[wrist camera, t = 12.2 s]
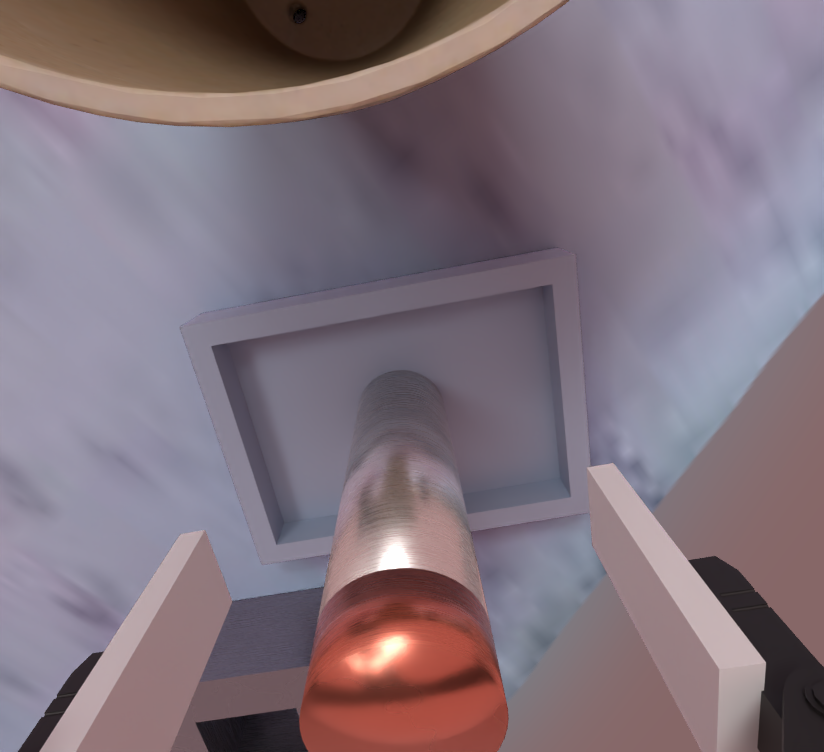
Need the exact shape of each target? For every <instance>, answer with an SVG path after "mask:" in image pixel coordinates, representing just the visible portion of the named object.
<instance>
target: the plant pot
mask: <svg viewBox="0 0 824 752" xmlns="http://www.w3.org/2000/svg"><path fill="white" fill-rule="evenodd" d="M568 1H569V0H0V88H3V89H7V90H10V91H13V92H16V93H19V94H22V95H25V96H28V97H32V98H35V99H38V100H41V101H44V102H47V103H50V104H54V105H58V106H62V107H66V108H70V109H75V110H79V111H83V112H87V113H91V114H96V115H100V116H106V117H112V118H118V119H123V120H129V121H135V122H143V123H154V124H164V125H174V126H210V127H237V126H252V125H267V124H277V123H287V122H297V121H303V120H309V119H315V118H321V117H327V116H333V115H338V114H343V113H348V112H353V111H357V110H360V109H364V108H367V107H371V106H374V105H378V104H381V103H385V102H388V101H391V100H393V99H396V98H398V97H401V96H403V95H406V94H408V93H411V92H413V91H415V90H417V89H420V88H422V87H424V86H426V85H429V84H431V83H433V82H435V81H438V80H440V79H442V78H444V77H446V76H448V75H450V74H452V73H454V72H456V71H458V70H460V69H462V68H463V67H465V66H467V65H469V64H471V63H473V62H475V61H477V60H478V59H480V58H482V57H484V56H486V55H488V54H490V53H491V52H493V51H495V50H497V49H499V48H500V47H502V46H504V45H505V44H507V43H508V42H510V41H511V40H513V39H515V38H516V37H518V36H519V35H521V34H523V33H524V32H526V31H527V30H529V29H530V28H532V27H534V26H535V25H537V24H538V23H539V22H541V21H542V20H544V19H545V18H546V17H548V16H549V15H550V14H552V13H553V12H555V11H556V10H557V9H559V8H560V7H561V6H563V5H564V4H566V3H567V2H568ZM299 9H304V10H305V11H306V18H305V20H304V21H303V22H302V23H295V22H294V19H293V16H294V13H295V12H296V11H297V10H299Z"/></svg>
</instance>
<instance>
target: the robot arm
mask: <svg viewBox="0 0 824 752" xmlns="http://www.w3.org/2000/svg"><path fill="white" fill-rule="evenodd" d="M587 480H588V494H589V508H590V521H591V535H592V546H593V548H594V549H595V551H596V553H597V555H598V557H599V559H600V561H601V563H602V565H603V566H604V568H605V570H606V572H607V574H608V576H609V578H610V580H611V581H612V583H613V585H614V587H615V589H616V591H617V593H618V595H619V597H620V598H621V600H622V602H623V604H624V606H625V608H626V610H627V612H628V614H629V615H630V617H631V619H632V621H633V623H634V625H635V626H636V629H637V631H638V632H639V634H640V636H641V638H642V640H643V642H644V644H645V646H646V648H647V649H648V651H649V653H650V655H651V657H652V659H653V661H654V662H655V664H656V666H657V668H658V670H659V672H660V674H661V676H662V677H663V680H664V681H665V683H666V685H667V687H668V689H669V691H670V693H671V695H672V696H673V698H674V700H675V702H676V704H677V706H678V708H679V710H680V712H681V714H682V715H683V717H684V719H685V721H686V723H687V725H688V726H689V729H690V730H691V732H692V734H693V736H694V738H695V740H696V742H697V744H698V746H699V747H700V749H701V751H702V752H759V751H760V752H824V667H823V666H822V665H821V664H820V663H819V662H818V661H817V660H816V658H815V657H814V656H813V655H812V654H811V653H810V652H809V651H808V649H807V648H806V647H805V646H804V645H803V644H802V642H801V641H800V640H799V639H798V638H797V637H796V636H795V634H794V633H793V632H792V631H791V630H790V629H789V628H788V627H787V625H786V624H785V623H784V622H783V621H782V620H781V619H780V617H779V616H778V615H777V614H776V613H775V612H774V611H773V609H772V608H771V607H770V608H769V607H768V605H767V603H766V601H765V600H764V599H763V598H762V597H761V596H760V595H759V594H758V592H755V590H754V588H753V587H752V586H751V584H750V583H749V582H748V581H747V580H746V579H745V578H744V576H743V575H742V574H741V573H740V572H739V571H738V570H737V569H735V568H734V567H732V566H730V565H729V564H727V563H726V562H724V561H722V560H720V559H719V558H718V557H716V556H712V557H706V558H700V559H693V560H687V559H686V557H685V556H684V555H683V554H682V552H681V551H680V550H679V548H678V547H677V546H676V545H675V543H674V542H673V540H672V539H671V538H670V537H669V535H668V534H667V533H666V531H665V530H664V529H663V527H662V526H661V525H660V524H659V522H658V521H657V520H656V518H655V517H654V516H653V514H652V513H651V512H650V510H649V509H648V508H647V507H646V505H645V504H644V503H643V501H642V500H641V499H640V497H639V496H638V495H637V493H636V492H635V491H634V490H633V488H632V487H631V486H630V484H629V483H628V482H627V480H626V479H625V478H624V476H623V475H622V474H621V473H620V471H619V470H618V469H617V467H616V466H615V465H614V463H610V464H604V465H598V466H592V467H587ZM231 604H232V599H231V597H230V594H229V591H228V589H227V586H226V584H225V581H224V578H223V576H222V573H221V571H220V568H219V565H218V563H217V560H216V557H215V555H214V552H213V550H212V547H211V544H210V542H209V539H208V536H207V534H206V531H205V530H202V531H196V532H190V533H184V534H180V535H179V537H178V538H177V540H176V542H175V543H174V545H173V546H172V548H171V549H170V551H169V552H168V554H167V555H166V557H165V558H164V560H163V562H162V563H161V565H160V566H159V568H158V569H157V571H156V572H155V574H154V575H153V577H152V579H151V580H150V582H149V583H148V585H147V586H146V588H145V589H144V591H143V592H142V594H141V596H140V597H139V599H138V600H137V602H136V603H135V605H134V606H133V608H132V609H131V611H130V613H129V614H128V616H127V617H126V619H125V620H124V622H123V623H122V625H121V626H120V628H119V629H118V631H117V633H116V634H115V636H114V637H113V639H112V640H111V642H110V643H109V645H108V646H107V648H106V650H105V651H104V652H99V653H93V654H91V655H90V656H89V657H88V658H87V659H86V660H85V661H84V662H83V663H82V664H81V665H80V666H79V667H78V668H77V669H76V670H75V671H74V672H73V673H72V674H71V675H70V677H69V678H68V679H67V681H66V682H65V684H64V685H63V687H62V688H61V690H60V691H59V693H58V694H57V698H56V699H54V700H53V701H52V703H51V704H50V706H49V707H48V709H47V710H46V712H45V716H44V717H41V719H40V720H39V722H38V723H37V725H36V726H35V728H34V729H33V731H32V732H31V733H30V735H29V736H28V738H27V739H26V741H25V742H24V744H23V745H22V747H21V748H20V749H19V751H18V752H170V751H171V748H172V746H173V743H174V741H175V739H176V736H177V734H178V731H179V729H180V727H181V724H182V722H183V719H184V717H185V714H186V712H187V710H188V707H189V705H190V702H191V700H192V698H193V695H194V693H195V690H196V688H197V686H198V683H199V681H200V678H201V676H202V674H203V671H204V669H205V666H206V664H207V662H208V659H209V657H210V654H211V652H212V649H213V647H214V645H215V642H216V640H217V637H218V635H219V633H220V630H221V628H222V625H223V623H224V621H225V618H226V616H227V613H228V611H229V609H230V606H231Z"/></svg>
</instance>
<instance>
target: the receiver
mask: <svg viewBox="0 0 824 752" xmlns="http://www.w3.org/2000/svg"><path fill="white" fill-rule="evenodd" d="M323 590H324V587H321V588H315V589H309V590H302V591H296V592H290V593H283V594H277V595H270V596H264V597H258V598H251V599H245V600H239V601H232V604H231V606H230V609H229V611H228V613H227V616H226V618H225V621H224V623H223V625H222V628H221V630H220V633H219V635H218V637H217V640H216V642H215V645H214V647H213V649H212V652H211V654H210V657H209V659H208V662H207V664H206V666H205V669H204V671H203V674H202V676H201V678H200V681H199V683H198V686H197V688H196V690H195V693H194V695H193V698H192V700H191V702H190V705H189V707H188V710H187V712H186V714H185V717H184V719H183V722H182V724H181V727H180V729H179V731H178V734H177V736H176V739H175V741H174V743H173V746H172V748H171V751H170V752H308V750H307V749H306V746H305V744H304V742H303V740H302V736H301V732H300V724H299V719H300V710H301V705H302V699H303V694H304V689H305V684H306V679H307V673H308V668H309V663H310V658H311V652H312V647H313V642H314V637H315V631H316V626H317V621H318V616H319V610H320V605H321V600H322V595H323Z"/></svg>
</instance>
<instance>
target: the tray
mask: <svg viewBox="0 0 824 752" xmlns="http://www.w3.org/2000/svg"><path fill="white" fill-rule="evenodd" d="M180 330H181V333H182V336H183V339H184V342H185V345H186V348H187V350H188V353H189V356H190V359H191V362H192V365H193V368H194V371H195V374H196V376H197V379H198V382H199V385H200V388H201V391H202V394H203V397H204V400H205V403H206V405H207V408H208V411H209V414H210V417H211V420H212V423H213V426H214V429H215V431H216V434H217V437H218V440H219V443H220V446H221V449H222V452H223V455H224V457H225V460H226V463H227V466H228V469H229V472H230V475H231V478H232V481H233V483H234V486H235V489H236V492H237V495H238V498H239V501H240V504H241V507H242V509H243V512H244V515H245V518H246V521H247V524H248V527H249V530H250V533H251V536H252V538H253V541H254V544H255V547H256V550H257V553H258V556H259V559H260V562H261V564H262V565H266V564H272V563H278V562H284V561H291V560H297V559H303V558H309V557H316V556H322V555H328V554H330V553H331V548H332V542H333V537H334V532H335V527H336V522H337V516H338V511H339V506H340V501H341V495H342V490H343V485H344V480H345V474H346V469H347V464H348V459H349V453H350V448H351V443H352V438H353V433H354V427H355V422H356V417H357V412H358V406H359V402H360V398H361V395H362V393H363V391H364V390H365V388H366V387H367V386H368V384H369V383H370V382H371V381H372V380H374V379H375V378H377V377H378V376H380V375H382V374H384V373H387V372H390V371H396V370H408V371H413V372H417V373H419V374H421V375H423V376H425V377H427V378H428V379H429V380H431V381H432V382H433V383H434V384H435V385H436V387H437V388H438V389H439V391H440V393H441V395H442V398H443V402H444V406H445V411H446V416H447V420H448V425H449V430H450V435H451V440H452V444H453V449H454V454H455V459H456V464H457V468H458V473H459V478H460V483H461V487H462V492H463V497H464V502H465V507H466V511H467V516H468V521H469V526H470V531H471V532H472V531H478V530H485V529H491V528H497V527H503V526H510V525H516V524H522V523H528V522H535V521H541V520H547V519H553V518H560V517H566V516H572V515H578V514H585V513H590V508H589V494H588V480H587V467H591V464H590V450H589V435H588V421H587V407H586V392H585V378H584V364H583V349H582V335H581V321H580V307H579V292H578V278H577V263H576V254H574V253H571V252H568V251H566V250H563V249H561V248H558V247H557V248H552V249H547V250H541V251H536V252H530V253H525V254H520V255H514V256H509V257H503V258H498V259H492V260H487V261H482V262H476V263H471V264H465V265H460V266H454V267H449V268H444V269H438V270H433V271H427V272H422V273H417V274H411V275H406V276H400V277H395V278H389V279H384V280H379V281H373V282H368V283H362V284H357V285H351V286H346V287H341V288H335V289H330V290H324V291H319V292H313V293H308V294H303V295H297V296H292V297H286V298H281V299H276V300H270V301H265V302H259V303H254V304H248V305H243V306H238V307H232V308H227V309H221V310H216V311H210V312H205V313H201V314H200V315H198V316H197V317H195V318H193V319H192V320H190V321H188V322H187V323H185V324H184V325H182V326H180Z"/></svg>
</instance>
